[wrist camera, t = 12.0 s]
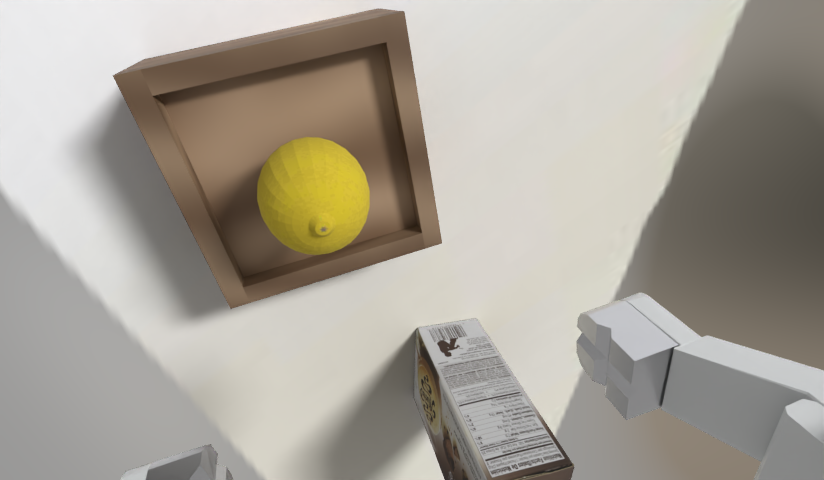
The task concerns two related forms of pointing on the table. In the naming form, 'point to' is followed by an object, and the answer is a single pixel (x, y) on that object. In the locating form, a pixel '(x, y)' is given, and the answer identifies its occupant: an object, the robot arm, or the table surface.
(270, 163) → the lemon
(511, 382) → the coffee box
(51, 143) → the table surface
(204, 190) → the walnut base
